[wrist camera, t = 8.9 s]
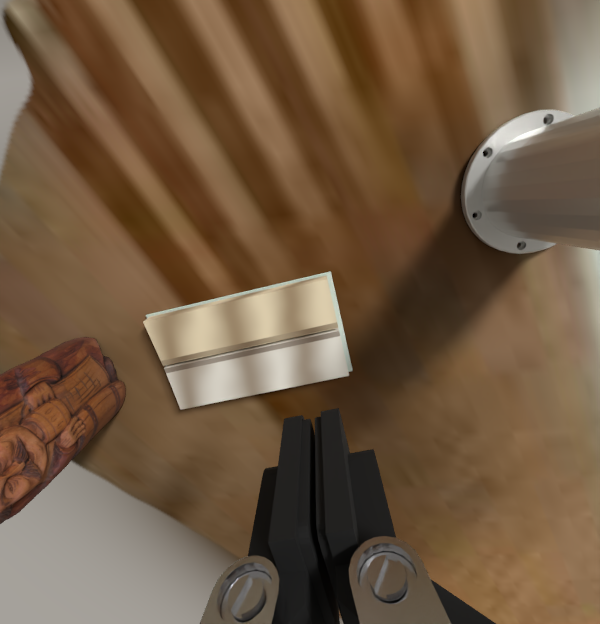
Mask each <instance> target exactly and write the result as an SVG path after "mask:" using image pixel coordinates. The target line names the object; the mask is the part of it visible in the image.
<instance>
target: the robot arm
mask: <svg viewBox="0 0 600 624" xmlns="http://www.w3.org/2000/svg"><path fill="white" fill-rule="evenodd" d="M543 119H544V122H543ZM483 151H485V153H486V155H485V156H483ZM461 203H462V211H463V214H464V216H465V219H466V222H467V224H468V226H469V227H470V229H471V231H472V232H473V233H474V234H475V235H476V236H477V237H478V238H479V239H480V240H481V241H482V242H484V243H485V244H487V245H488V246H490V247H492V248H495V249H498V250H500V251H505V252H509V253H517V254H524V253H533V252H537V251H541V250H544V249H548V248H550V247H552V246H554V245H556V244H563V245H569V246H575V247H582V248H588V249H594V250H600V108H597V109H594V110H591V111H588V112H585V113H583V114H580V115H577V116H575V115H572V114H570V113H568V112H564V111H558V110H538V111H534V112H530V113H526V114H523V115H521V116H518V117H516V118H513V119H511V120H510V121H508V122H506V123H504V124H502V125H501V126H499V127H498V128H497V129H496V130H494V131H493V132H492V133H491V134H489V135H488V136H487V137H486V139H485V140H484V141H483V142H482V143H481V144H480V145H479V146H478V148H477V150H476V151H475V153H474V154H473V156H472V157H471V159H470V161H469V164H468V166H467V168H466V171H465V174H464V178H463V182H462V189H461ZM473 213H475V217H474V218H473V216H472V215H473ZM517 244H518V246H517ZM339 610H340V614H341V617H342V620H343V623H344V624H496V623H494V622H493V621H491V620H490V619H488V618H487V617H485V616H484V615H482V614H481V613H479V612H478V611H476V610H475V609H474V608H472V607H471V606H469V605H468V604H466V603H465V602H463V601H462V600H460V599H459V598H457V597H456V596H454V595H453V594H452V593H450V592H449V591H447V590H446V589H444V588H443V587H441V586H440V585H438V584H437V583H435V582H434V581H432V580H431V579H430V577H429V575H428V573H427V571H426V569H425V567H424V565H423V562H422V560H421V559H420V557H419V556H418V554H417V553H416V551H415V550H414V549H413V548H412V547H411V546H409V545H408V544H407V543H406V542H404V541H402V540H399V539H397V538H396V536H395V532H394V528H393V524H392V520H391V516H390V512H389V508H388V504H387V500H386V496H385V492H384V488H383V484H382V480H381V476H380V472H379V468H378V464H377V460H376V457H375V453H374V449H372V450H367V451H361V452H355V453H350V452H349V448H348V444H347V440H346V436H345V431H344V427H343V423H342V419H341V415H340V411H339V408H337V409H332V410H327V411H322V412H321V417H317V418H315V434H314V430H313V426H312V423H311V420H310V419H306V420H304V417H303V416H302V415H301V416H296V417H291V418H285V419H284V425H283V432H282V440H281V448H280V455H279V463H278V466H277V467H271V468H266V469H265V470H264V473H263V477H262V482H261V488H260V493H259V499H258V504H257V510H256V515H255V520H254V526H253V531H252V537H251V542H250V548H249V553H248V557H244V558H242V559H240V560H238V561H236V562H234V563H233V564H232V565H231V566H230V567H228V568H227V569H226V570H225V571H224V572H223V574H222V575H221V576H220V577H219V579H218V580H217V582H216V584H215V586H214V588H213V590H212V593H211V595H210V598H209V600H208V603H207V606H206V608H205V611H204V614H203V616H202V619H201V622H200V624H340V622H339Z"/></svg>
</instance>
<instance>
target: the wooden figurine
mask: <svg viewBox="0 0 600 624" xmlns="http://www.w3.org/2000/svg"><path fill="white" fill-rule="evenodd" d="M125 393H126V389H125V385H124V383H123V382H122V381H119V380H118V378H117V375H116V370H115V368H114V365H113V362H112V361H111V359H110V358H108V357H105V356H103V355H102V353H101V350H100V346H99V345H98V342H97V340H96V339H94V338H89V337H83V338H77V339H73V340H71V341H67V342H64V343H62V344H60V345H58V346H56V347H55V348H53V349H51V350H49V351H47V352H45V353H43V354H41V355H40V356H38V357H36V358H34V359H32V360H30V361H28V362H25V363H23V364H21V365H18V366H16V367H14V368H12V369H10V370H8V371H6V372H4V373H3V374H1V375H0V524H1V523H2V522H4V521H5V520H7V519H9V518H11V517H12V516H14V515H16V514H17V513H18V512H20V511H21V510H22V509H23V508H24V507H25V506H26V505H27V504H28V503H29V502H30V501H31V500H32V499H33V498H34V497H35V496H36V495H37V494H39V493H40V492H41V491H42V489H44V488H45V487H46V486H47V485H48V484H49V483H50V482H51V481H52V480H53V479H54V478H55V477H56V476H57V475H58V474H59V473H60V472H61V471H62V470H63V469H64V468H65V467H66V466H67V465H68V464H69V462H70V461H71V460H72V459H73V458H74V457H75V456H76V455H77V454H78V453H79V452H80V451H81V450H82V449H83V448H84V447H85V446H86V445H87V444H88V442H89V441H90V440H91V439H92V438H93V437H94V436H95V435H96V434H97V433H98V432H99V431H100V430H101V429H102V428H103V427H104V426H105V425H106V424H107V423H108V422H109V421H110V420H111V419H112V418H113V417H114V416H115V414H116V413H117V412H118V411H119V410H120V408H121V406H122V404H123V402H124V399H125V395H126V394H125Z"/></svg>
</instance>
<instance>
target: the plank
mask: <svg viewBox="0 0 600 624" xmlns="http://www.w3.org/2000/svg"><path fill="white" fill-rule="evenodd" d="M143 323H144V325H145V327H146V330H147V332H148V334H149V336H150V338H151V341H152V343H153V345H154V347H155V349H156V351H157V354H158V356H159V358H160V360H161V363H162V365H163V366H165V365H170V364H174V363H179V362H183V361H188V360H192V359H197V358H202V357H206V356H211V355H215V354H220V353H225V352H229V351H234V350H238V349H243V348H248V347H252V346H257V345H261V344H266V343H271V342H275V341H280V340H284V339H289V338H294V337H298V336H303V335H307V334H312V333H317V332H321V331H326V330H330V329H335V328H338V323H337V319H336V315H335V310H334V306H333V301H332V297H331V293H330V288H329V284H328V279H327V275H326V276H321V277H317V278H313V279H309V280H304V281H300V282H296V283H292V284H287V285H283V286H279V287H275V288H270V289H266V290H262V291H258V292H253V293H249V294H245V295H241V296H236V297H232V298H228V299H223V300H219V301H215V302H211V303H206V304H202V305H198V306H194V307H189V308H185V309H181V310H177V311H172V312H168V313H164V314H160V315H155V316H151V317H148V318H147V319H146V320H145V321H144V322H143Z"/></svg>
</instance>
